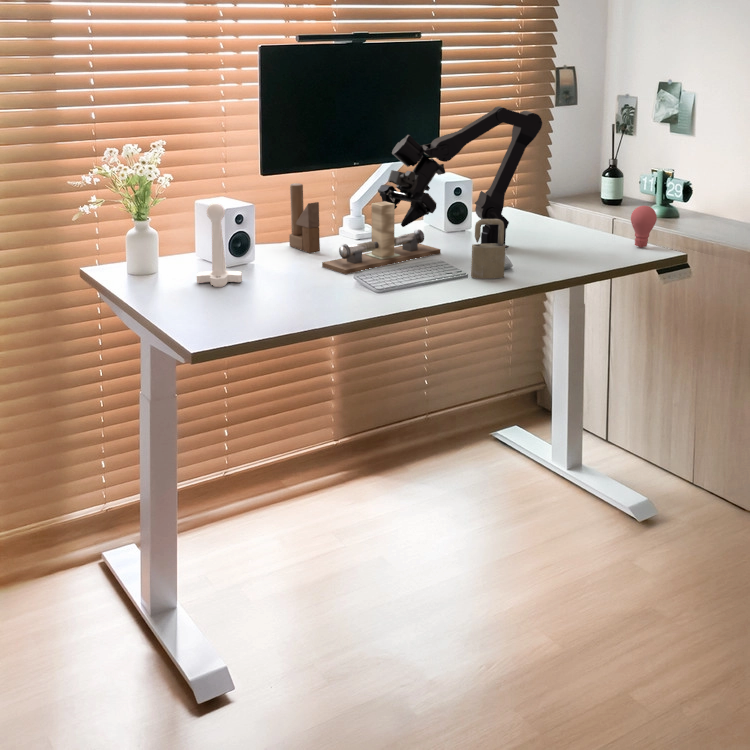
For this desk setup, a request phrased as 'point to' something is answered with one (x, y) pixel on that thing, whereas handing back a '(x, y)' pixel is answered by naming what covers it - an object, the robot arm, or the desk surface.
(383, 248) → the tan wood post
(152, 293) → the desk surface
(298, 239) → the wooden block
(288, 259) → the desk surface
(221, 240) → the joystick
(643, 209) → the light bulb
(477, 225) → the padlock
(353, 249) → the shafts
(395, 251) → the base board
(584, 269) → the desk surface
